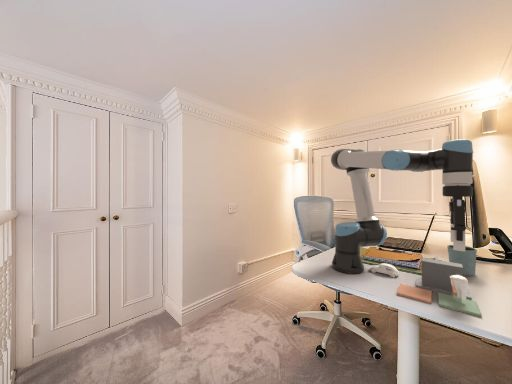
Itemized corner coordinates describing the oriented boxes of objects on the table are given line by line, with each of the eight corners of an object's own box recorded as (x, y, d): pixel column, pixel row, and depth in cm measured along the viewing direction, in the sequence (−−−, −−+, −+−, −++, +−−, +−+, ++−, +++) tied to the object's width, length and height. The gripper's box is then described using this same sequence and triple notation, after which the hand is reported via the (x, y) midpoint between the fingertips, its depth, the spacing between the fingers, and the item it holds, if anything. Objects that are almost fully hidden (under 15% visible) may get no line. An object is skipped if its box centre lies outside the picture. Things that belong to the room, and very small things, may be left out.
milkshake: (446, 296, 75) (446, 269, 75) (467, 301, 72) (466, 273, 72) (447, 301, 72) (447, 273, 72) (469, 307, 68) (468, 277, 68)
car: (399, 274, 98) (399, 264, 98) (398, 278, 93) (397, 268, 93) (371, 268, 106) (371, 259, 106) (368, 272, 101) (368, 262, 101)
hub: (415, 287, 84) (415, 260, 84) (416, 280, 90) (416, 255, 90) (471, 300, 74) (471, 270, 74) (468, 292, 80) (468, 264, 80)
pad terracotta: (397, 294, 79) (397, 292, 79) (400, 285, 86) (400, 283, 86) (431, 303, 72) (431, 301, 72) (431, 292, 80) (431, 290, 80)
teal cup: (475, 278, 92) (475, 251, 92) (445, 271, 100) (445, 247, 100) (477, 272, 99) (477, 247, 99) (449, 266, 107) (449, 243, 107)
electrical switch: (446, 283, 87) (443, 261, 88) (430, 281, 91) (428, 260, 91) (444, 276, 95) (441, 256, 95) (430, 274, 98) (427, 255, 99)
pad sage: (439, 305, 71) (439, 303, 71) (438, 294, 78) (438, 292, 78) (481, 317, 64) (481, 314, 64) (476, 303, 72) (476, 301, 72)
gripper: (479, 184, 59) (479, 257, 59) (467, 185, 78) (468, 240, 78) (443, 184, 64) (444, 252, 64) (441, 185, 83) (441, 238, 83)
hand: (457, 246), depth 71 cm, fingers open, 13 cm apart
